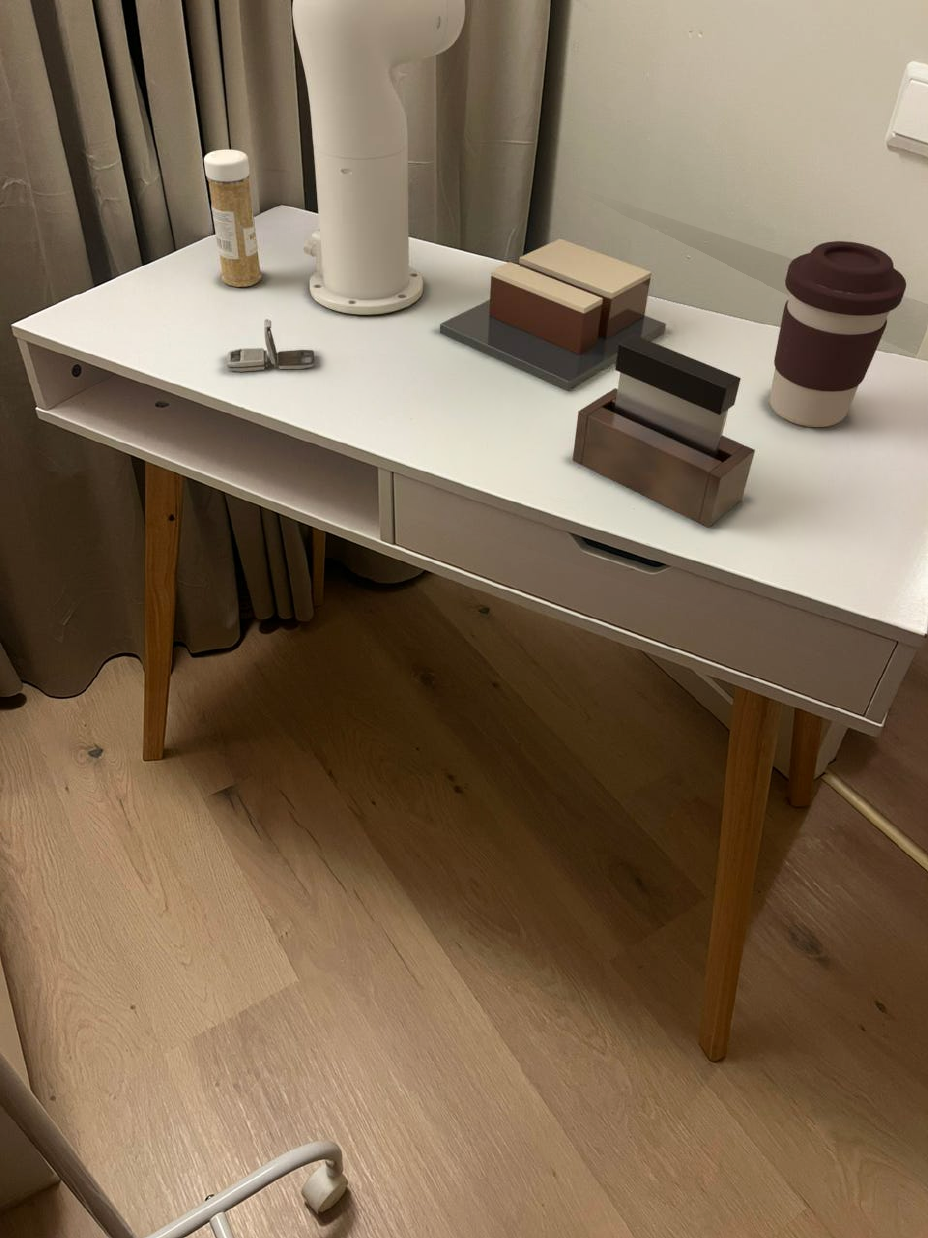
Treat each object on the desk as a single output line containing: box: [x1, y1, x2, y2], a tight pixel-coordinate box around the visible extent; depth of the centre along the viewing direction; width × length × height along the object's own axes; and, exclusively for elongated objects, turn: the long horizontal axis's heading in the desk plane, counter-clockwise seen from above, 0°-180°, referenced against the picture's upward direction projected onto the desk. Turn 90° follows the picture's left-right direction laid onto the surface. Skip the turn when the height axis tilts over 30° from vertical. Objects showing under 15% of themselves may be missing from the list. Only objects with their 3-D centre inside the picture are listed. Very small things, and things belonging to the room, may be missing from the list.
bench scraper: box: [614, 335, 742, 459], centre depth 82 cm, size 10×2×11 cm, turn 48°
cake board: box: [439, 238, 667, 392], centre depth 103 cm, size 17×17×6 cm
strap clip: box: [226, 319, 316, 373], centre depth 97 cm, size 8×3×4 cm, turn 98°
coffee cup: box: [769, 240, 907, 428], centre depth 90 cm, size 10×10×15 cm
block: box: [572, 387, 756, 528], centre depth 84 cm, size 14×5×5 cm, turn 48°
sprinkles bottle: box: [203, 149, 263, 288], centre depth 108 cm, size 5×5×13 cm
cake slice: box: [489, 261, 603, 355], centre depth 102 cm, size 12×3×5 cm, turn 48°
